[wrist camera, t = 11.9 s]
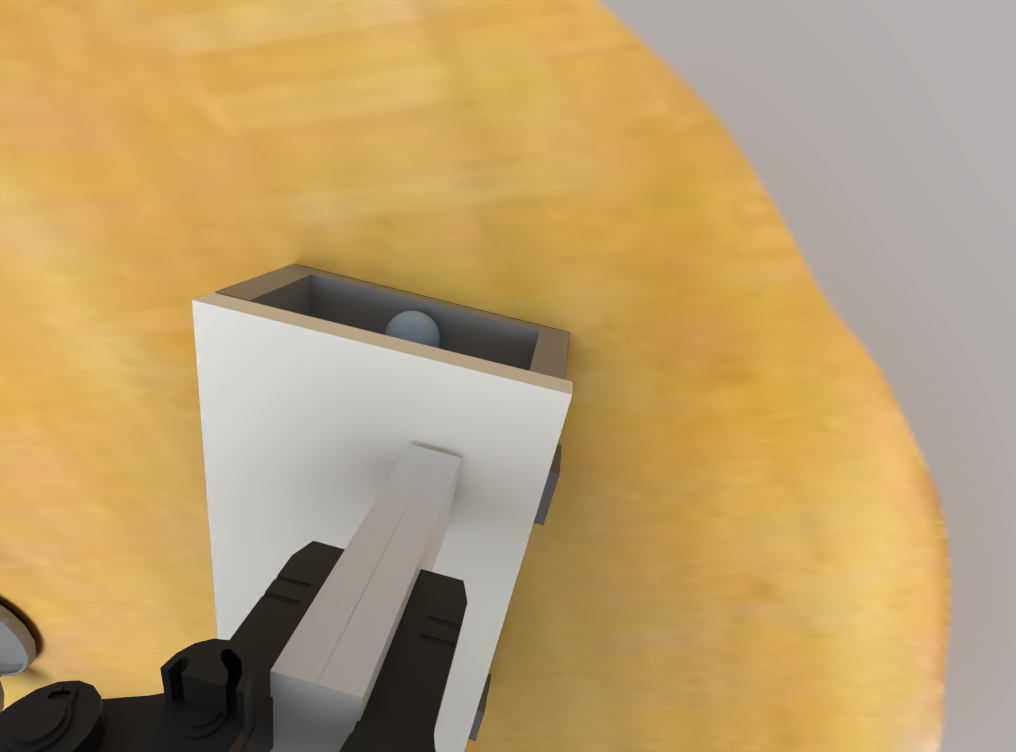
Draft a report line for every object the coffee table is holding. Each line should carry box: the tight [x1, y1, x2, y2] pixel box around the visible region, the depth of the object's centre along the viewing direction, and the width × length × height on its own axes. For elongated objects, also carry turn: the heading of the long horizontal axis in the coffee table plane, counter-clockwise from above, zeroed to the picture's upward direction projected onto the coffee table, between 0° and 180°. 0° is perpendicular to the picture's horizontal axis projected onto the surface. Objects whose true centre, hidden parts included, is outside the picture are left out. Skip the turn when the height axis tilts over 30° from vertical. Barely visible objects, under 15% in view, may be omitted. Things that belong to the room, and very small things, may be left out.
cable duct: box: [216, 264, 569, 740], centre depth 19 cm, size 20×11×4 cm, turn 168°
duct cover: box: [192, 293, 573, 752], centre depth 17 cm, size 20×10×1 cm, turn 168°
